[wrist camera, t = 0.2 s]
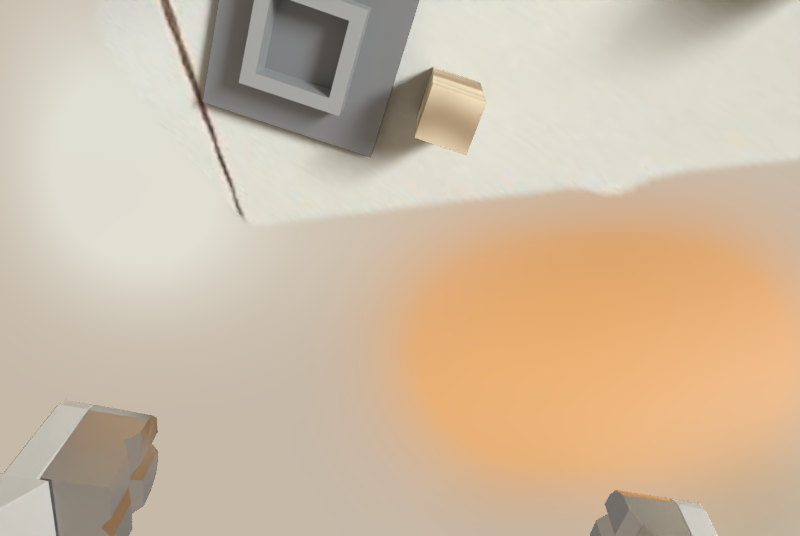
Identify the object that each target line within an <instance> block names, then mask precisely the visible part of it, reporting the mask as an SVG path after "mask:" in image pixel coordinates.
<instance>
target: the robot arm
mask: <svg viewBox="0 0 800 536" xmlns="http://www.w3.org/2000/svg"><path fill="white" fill-rule="evenodd" d="M157 432H158V431H157V418H156V417H154V416H152V415H147V414H141V413H136V412H131V411H125V410H120V409H115V408H109V407H104V406H99V405H91V404H85V403H80V402H74V401H68V400H65V401H64V402H62V403H60V404H59V405H57V406H56V407H55V409H54V410H53V411H52V413H51V414H50V415H49V416H48V418H47V419H46V420H45V421H44V423H43V424H42V425H41V427H40V428H39V429H38V430H37V432H36V433H35V434H34V435H33V437H32V438H31V439H30V441H29V442H28V443H27V444H26V445H25V447H24V448H23V449H22V450H21V452H20V453H19V454H18V456H17V457H16V458H15V459H14V461H13V462H12V463H11V464H10V466H9V467H8V468H7V469H6V471H5V472H4V473H3V474H1V473H0V536H129V534H130V532H131V530H132V513H134V512H135V511H137V510H138V509H140V508H141V507H143V506H144V504H145V502H146V500H147V498H148V495H149V493H150V491H151V488H152V485H153V482H154V479H155V475H156V470H157V463H158V451H157V449H156V448H155V447H154V446H153V445H152V442H153V440H154V438H155V436H156V434H157ZM605 506H606V509H607V512H608V514H607V515H605V516H603V517H601V518H600V519H598V520H596V523H595V524H594V527H593V529H592V531H591V533H590V536H718V535H717V533H716V531H715V529H714V527H713V525H712V523H711V521H710V519H709V517H708V515H707V513H706V511H705V509H704V508H703V507H702V506H701V505H700V504H699V503H696V502H690V501H684V500H677V499H668V498H664V497H658V496H651V495H645V494H638V493H631V492H625V491H618V490H616V491H614V492H613V493H611V494H610V496H609V497H608V499H607V501H606V503H605Z"/></svg>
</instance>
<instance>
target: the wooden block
mask: <svg viewBox="0 0 800 536" xmlns="http://www.w3.org/2000/svg"><path fill="white" fill-rule="evenodd" d="M485 105H486V100H485V97H484V94H483V91H482V87H481V84H480V83H479V82H476V81H473V80H471V79H468V78H465V77H462V76H459V75H456V74H453V73H450V72H448V71H445V70H442V69H439V68H436V67H433V70H432V73H431V75H430V78H429V81H428V84H427V87H426V90H425V93H424V96H423V99H422V102H421V105H420V108H419V111H418V115H417V123H416V131H415V138H416V139H419V140H422V141H425V142H428V143H431V144H434V145H437V146H440V147H443V148H446V149H449V150H452V151H455V152H458V153H461V154H464V155H466V154H467V152H468V149H469V146H470V144H471V141H472V139H473V136H474V134H475V131H476V128H477V126H478V123H479V121H480V118H481V116H482V113H483V110H484V108H485Z"/></svg>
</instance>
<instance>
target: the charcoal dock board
mask: <svg viewBox="0 0 800 536" xmlns="http://www.w3.org/2000/svg"><path fill="white" fill-rule="evenodd" d="M418 3H419V0H219V3H218V9H217V15H216V21H215V28H214V34H213V40H212V46H211V52H210V59H209V65H208V71H207V77H206V84H205V90H204V96H203V102H204V103H207V104H210V105H213V106H216V107H219V108H222V109H225V110H228V111H231V112H234V113H237V114H240V115H243V116H246V117H250V118H253V119H256V120H259V121H262V122H265V123H268V124H271V125H274V126H277V127H280V128H283V129H286V130H289V131H292V132H295V133H298V134H301V135H304V136H307V137H310V138H313V139H316V140H319V141H323V142H326V143H329V144H332V145H335V146H338V147H341V148H344V149H347V150H350V151H353V152H356V153H359V154H362V155H365V156H368V157H371V155H372V151H373V148H374V145H375V142H376V139H377V135H378V132H379V129H380V126H381V122H382V119H383V116H384V113H385V109H386V106H387V103H388V100H389V97H390V93H391V90H392V87H393V84H394V80H395V77H396V74H397V71H398V67H399V64H400V61H401V58H402V54H403V51H404V48H405V45H406V42H407V38H408V35H409V32H410V29H411V25H412V22H413V19H414V16H415V12H416V9H417V6H418Z"/></svg>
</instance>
